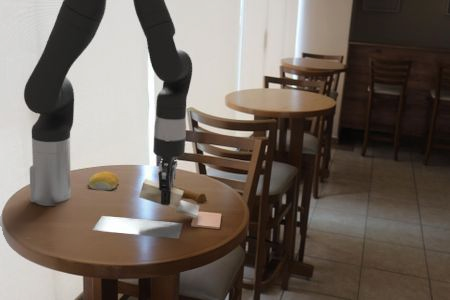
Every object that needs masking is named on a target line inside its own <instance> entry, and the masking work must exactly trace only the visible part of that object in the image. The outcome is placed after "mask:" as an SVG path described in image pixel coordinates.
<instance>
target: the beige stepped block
mask: <svg viewBox="0 0 450 300" xmlns="http://www.w3.org/2000/svg"><path fill="white" fill-rule="evenodd" d="M163 186H167V185H163ZM171 188H172V189H171V194H170V204H169V205H164V206H165V207H168V208H172V209H174V210H176V211H175V212H176V213H178V214H181V215H185V216H188V217H191V218H193V217H194V218H197V215H198V211H199V210H200V205H198V204H194V203H192V202H189V201H185V200H182V199H183V198H182V195H183V192H184V191H182V190H179V189H176V188H173V187H171ZM138 198H140V199H144V200H146V201H149V202H153V203H156V204H158V205H159V204H160V205H162V204H161V191H159V181H158V182H157V181H154V180H151V179H147V178H145V180H144V181H143V183H142V186H141V189H140V192H139V197H138Z"/></svg>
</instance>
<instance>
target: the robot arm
mask: <svg viewBox="0 0 450 300" xmlns="http://www.w3.org/2000/svg"><path fill="white" fill-rule="evenodd" d="M132 1H133V6H134V9H135V14H136V16H137V19H138V21H139V24H140V27H141V29H142V32H143V34H144V36H145V38H146V45H147V51H148V55H149V61H150V64H151V65H150V66H151V68H152V70H153V72H154V73H155V75H156V76H157V78H158V79H159V80H160V81H162V87H161V88H162V89H161V90H160V91H159V92H158V94H157V96H156V104H155V105H156V107H155V120H154V128H153V129H154V130H153V154H154V155H156V156H158V157H161V160H160V161H159V163H158V169H159V171H158V174H157V176H158V183H159V191H161V204H160V205H162V206H165V205H169V204H170V194H171V189H172V188H171V187H173V186H174V184H175V179H176V175H177V166H178V158H180V157H183V156H184V155H185V150H186V149H185V148H186V134H187V123H186V122H187V121H186V120H187V119H186V118H187V117H186V115H187V99H188V98H187V96H188V94H189V90H190V86H191V81H192V76H193V62H192V59H191V57H190V54H188V53H187V51H184V50H183V49H177V46H176V42H175V39H174V37H175V35H176V27H175V24H174V22H173V18H172V17H171V13H170V11H169V9H168V7H167V6H168V5H167V4H166V2H165V0H132ZM106 7H107V0H63V1H62V3H61V6H60V8H59V11H58V13H57V16H56V20H55V22H54V24H53V27H52V29H51V32H50V34H49V36H48V38H47V41H46V44H45V47H44V50H43V51H42V54H41V56H40V58H39V59H38V61H37V64H36V65H35V67H34V69H33V71H32V72H31V74H30V75H29V78H28V80H27V81H26V84H25V86H24V90H23V98H24V99H23V100H24V103H25V105H26V107H27V108H28V109H29V110H30V111H31V112H32V113H35V114H39V116H38V118H37V120H36V122H35V123H34V124H33V125H32V127H31V150H32V153H31V154H32V165H31V166H29V187H30V189H29V190H30V193H29V194H30V195H29V196H30V202H31V203H35V204H37V205H39V206H45V207H54V206H57V205H58V204H59V203H62V202H65V201H67V200H69V199H70V198H71V193H72V192H71V191H72V190H71V188H72V187H71V185H72V183H71V182H72V181H71V180H72V179H71V178H72V177H71V130H72V129H73V128H72V127H73V124H74V116H75V115H74V113H75V112H74V111H75V93H74V88H73V87H74V86H73V84H72V82H71V81H70V80H69V78H68V77H67V74H68V73H69V71H70V69H71V67H72V66H73V65H74V63H75V62H76V61H77V59H78V58H79V57H80V56H81V55H82V54H83V53H84V51H85V50H86V49H87V48H88V46H89V45H90V44H91V42H92V41H93V40H94V38H95V36H96V35H97V31H98V30H99V27H100V25H101V23H102V20H103V18H104V16H105V13H106ZM163 185H167V186H163Z"/></svg>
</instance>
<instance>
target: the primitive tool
mask: <svg viewBox="0 0 450 300" xmlns="http://www.w3.org/2000/svg"><path fill="white" fill-rule="evenodd" d="M173 188H176V189H179V190H182V191H184V192H183V195H182V198H181V199H184V200H186V199H187V200H194V201H195V202H196V203H203V202H205V201H207V195H206V194H205V193H197V192H192V191H190V190H187V189H184V188H181V187H177V186H176V185H173Z"/></svg>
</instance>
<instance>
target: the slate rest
mask: <svg viewBox="0 0 450 300" xmlns="http://www.w3.org/2000/svg"><path fill="white" fill-rule="evenodd" d="M183 224H184V223H181V222H173V221H172V222H171V221H161V220H159V221H158V220H149V219H139V218H129V217H117V216H116V217H115V216H108V215H102V216H101V217H100V219H98V221H97V223H96V224H95V225H94V227H93V228H92V231H96V232H106V233H115V234H127V235H137V236H148V237H158V238H167V239H168V238H170V239H177V240H178V239H179V238H180V235H181V232H182V229H183Z"/></svg>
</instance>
